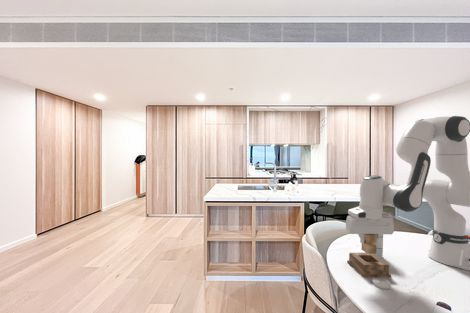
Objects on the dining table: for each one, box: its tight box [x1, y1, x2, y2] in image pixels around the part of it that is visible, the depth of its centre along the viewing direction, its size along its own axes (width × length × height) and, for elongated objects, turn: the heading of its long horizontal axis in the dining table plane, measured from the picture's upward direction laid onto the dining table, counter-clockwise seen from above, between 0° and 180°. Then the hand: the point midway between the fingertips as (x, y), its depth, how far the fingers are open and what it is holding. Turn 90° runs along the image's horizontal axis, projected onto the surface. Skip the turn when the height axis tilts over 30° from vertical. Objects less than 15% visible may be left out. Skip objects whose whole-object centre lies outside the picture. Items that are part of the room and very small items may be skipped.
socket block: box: [347, 252, 392, 278], centre depth 98 cm, size 12×12×5 cm
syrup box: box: [375, 234, 384, 259], centre depth 112 cm, size 6×6×14 cm
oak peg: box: [361, 234, 377, 254], centre depth 98 cm, size 4×4×8 cm
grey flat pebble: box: [371, 277, 391, 290], centre depth 87 cm, size 6×6×2 cm
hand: (368, 243), depth 98 cm, fingers closed on oak peg, 4 cm apart
